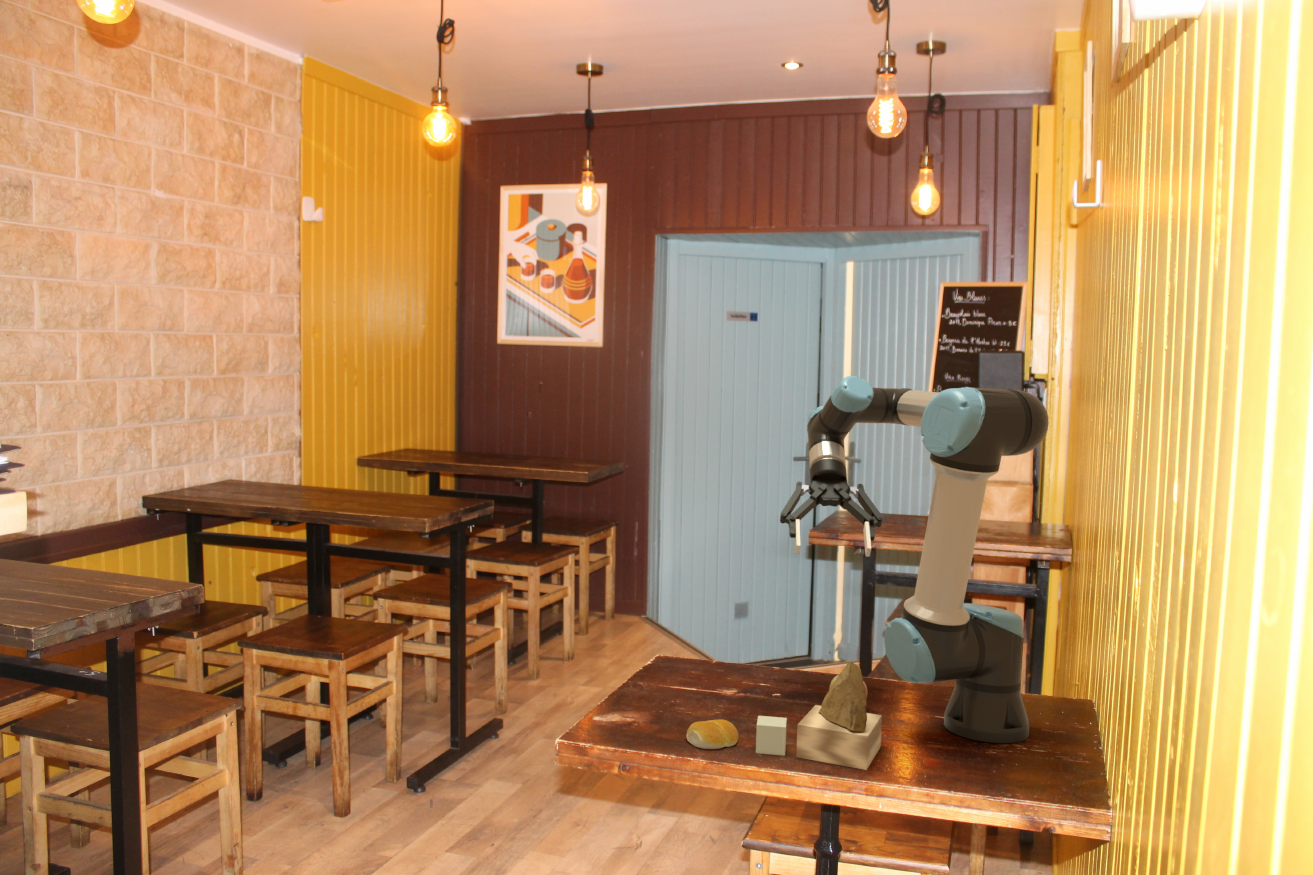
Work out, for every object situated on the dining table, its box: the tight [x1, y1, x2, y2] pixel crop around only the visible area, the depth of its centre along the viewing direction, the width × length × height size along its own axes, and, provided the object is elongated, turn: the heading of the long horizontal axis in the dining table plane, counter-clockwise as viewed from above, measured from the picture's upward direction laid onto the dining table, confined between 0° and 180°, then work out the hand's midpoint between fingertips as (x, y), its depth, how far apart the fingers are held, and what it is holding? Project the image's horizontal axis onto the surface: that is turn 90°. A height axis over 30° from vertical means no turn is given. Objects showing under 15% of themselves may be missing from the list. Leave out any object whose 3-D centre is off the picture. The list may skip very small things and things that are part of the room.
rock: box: [819, 661, 868, 732], centre depth 166 cm, size 11×9×10 cm
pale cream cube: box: [755, 715, 788, 756], centre depth 169 cm, size 5×5×5 cm
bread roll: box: [686, 718, 739, 750], centre depth 172 cm, size 8×9×4 cm
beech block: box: [796, 704, 883, 771], centre depth 168 cm, size 12×12×6 cm
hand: (833, 551), depth 189 cm, fingers open, 13 cm apart
